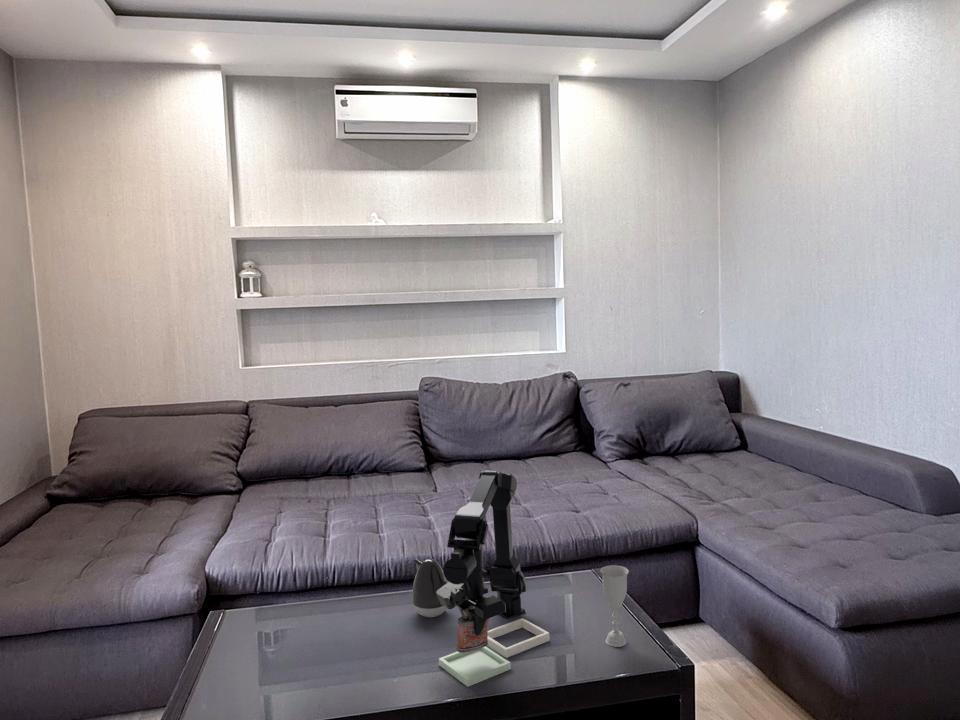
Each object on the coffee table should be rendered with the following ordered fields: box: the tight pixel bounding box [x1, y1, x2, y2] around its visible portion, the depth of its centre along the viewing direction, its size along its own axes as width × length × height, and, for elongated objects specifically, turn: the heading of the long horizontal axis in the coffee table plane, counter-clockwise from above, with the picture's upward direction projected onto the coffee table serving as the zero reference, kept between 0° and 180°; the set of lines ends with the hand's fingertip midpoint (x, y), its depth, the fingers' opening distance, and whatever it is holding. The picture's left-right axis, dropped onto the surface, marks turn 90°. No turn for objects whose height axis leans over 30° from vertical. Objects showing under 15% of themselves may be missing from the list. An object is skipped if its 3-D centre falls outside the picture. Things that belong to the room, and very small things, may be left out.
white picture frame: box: [486, 617, 550, 659], centre depth 176 cm, size 11×14×2 cm
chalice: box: [600, 564, 629, 648], centre depth 173 cm, size 7×7×18 cm
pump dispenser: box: [411, 558, 447, 618], centre depth 193 cm, size 10×10×15 cm
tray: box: [438, 646, 512, 687], centre depth 164 cm, size 12×12×2 cm
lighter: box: [455, 606, 490, 653], centre depth 163 cm, size 8×3×10 cm, turn 121°
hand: (473, 632), depth 163 cm, fingers closed on lighter, 3 cm apart
